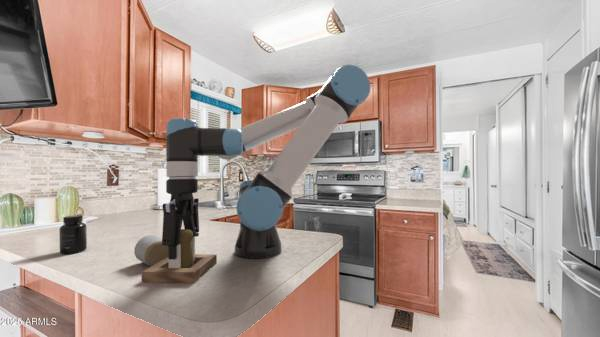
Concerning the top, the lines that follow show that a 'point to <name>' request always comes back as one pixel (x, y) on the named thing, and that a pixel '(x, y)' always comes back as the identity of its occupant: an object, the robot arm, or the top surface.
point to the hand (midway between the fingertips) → (182, 265)
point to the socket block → (179, 270)
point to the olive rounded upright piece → (186, 248)
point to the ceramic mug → (150, 250)
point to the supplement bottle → (73, 235)
